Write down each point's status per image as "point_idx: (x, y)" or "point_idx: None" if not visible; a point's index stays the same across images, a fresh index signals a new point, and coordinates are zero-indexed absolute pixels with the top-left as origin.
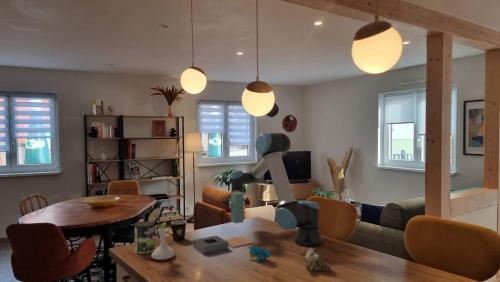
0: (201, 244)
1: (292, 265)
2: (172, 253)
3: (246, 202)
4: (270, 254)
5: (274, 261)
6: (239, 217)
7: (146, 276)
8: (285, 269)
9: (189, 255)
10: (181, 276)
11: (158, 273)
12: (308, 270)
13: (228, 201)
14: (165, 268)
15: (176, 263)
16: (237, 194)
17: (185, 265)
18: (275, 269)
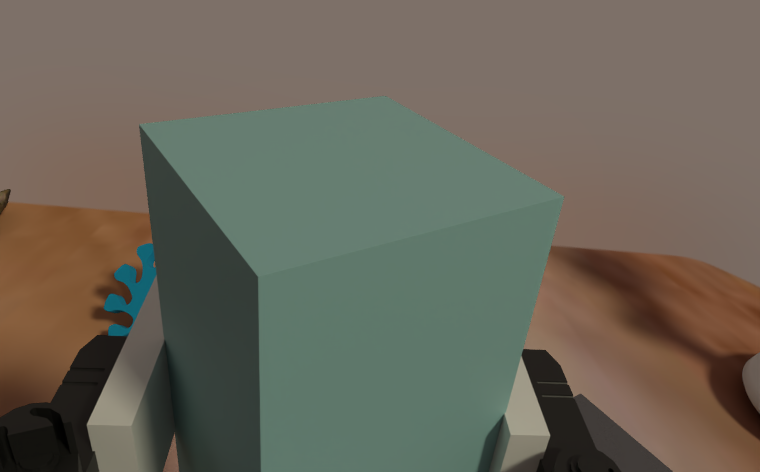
0: (633, 450)
1: (17, 280)
2: (755, 376)
3: (52, 403)
4: (108, 297)
5: (92, 324)
6: None
7: (701, 262)
8: (85, 254)
9: (669, 442)
10: (559, 251)
11: (673, 275)
12: (6, 198)
13: (588, 449)
14: (680, 307)
15: (667, 347)
16: (331, 110)
17: (602, 324)
18: (135, 258)
